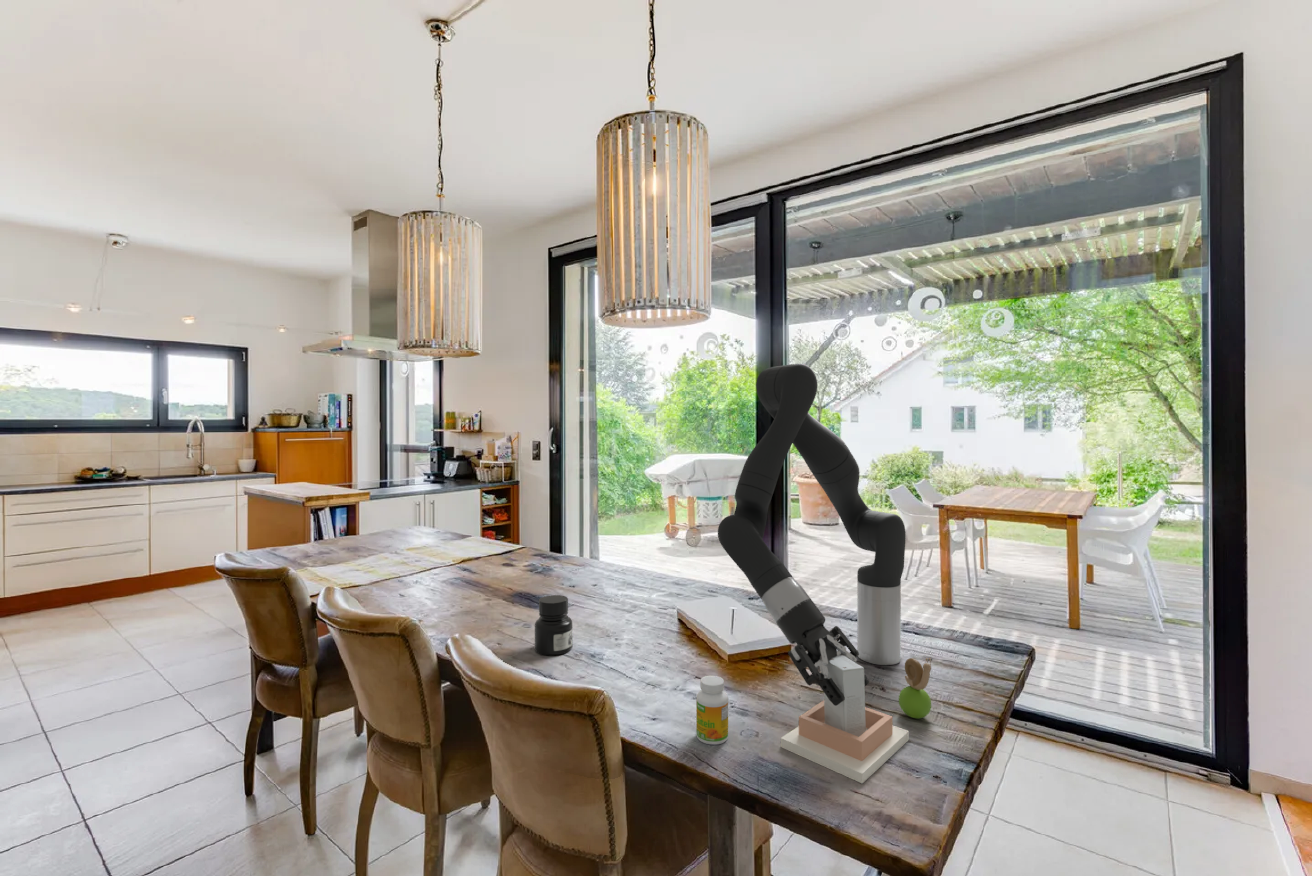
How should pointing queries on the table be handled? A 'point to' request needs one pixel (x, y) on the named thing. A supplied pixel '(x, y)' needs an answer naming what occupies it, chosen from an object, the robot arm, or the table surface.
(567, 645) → the ink bottle
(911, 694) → the snail figurine
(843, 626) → the table surface
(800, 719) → the socket stand
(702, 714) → the supplement bottle
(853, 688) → the skincare box
